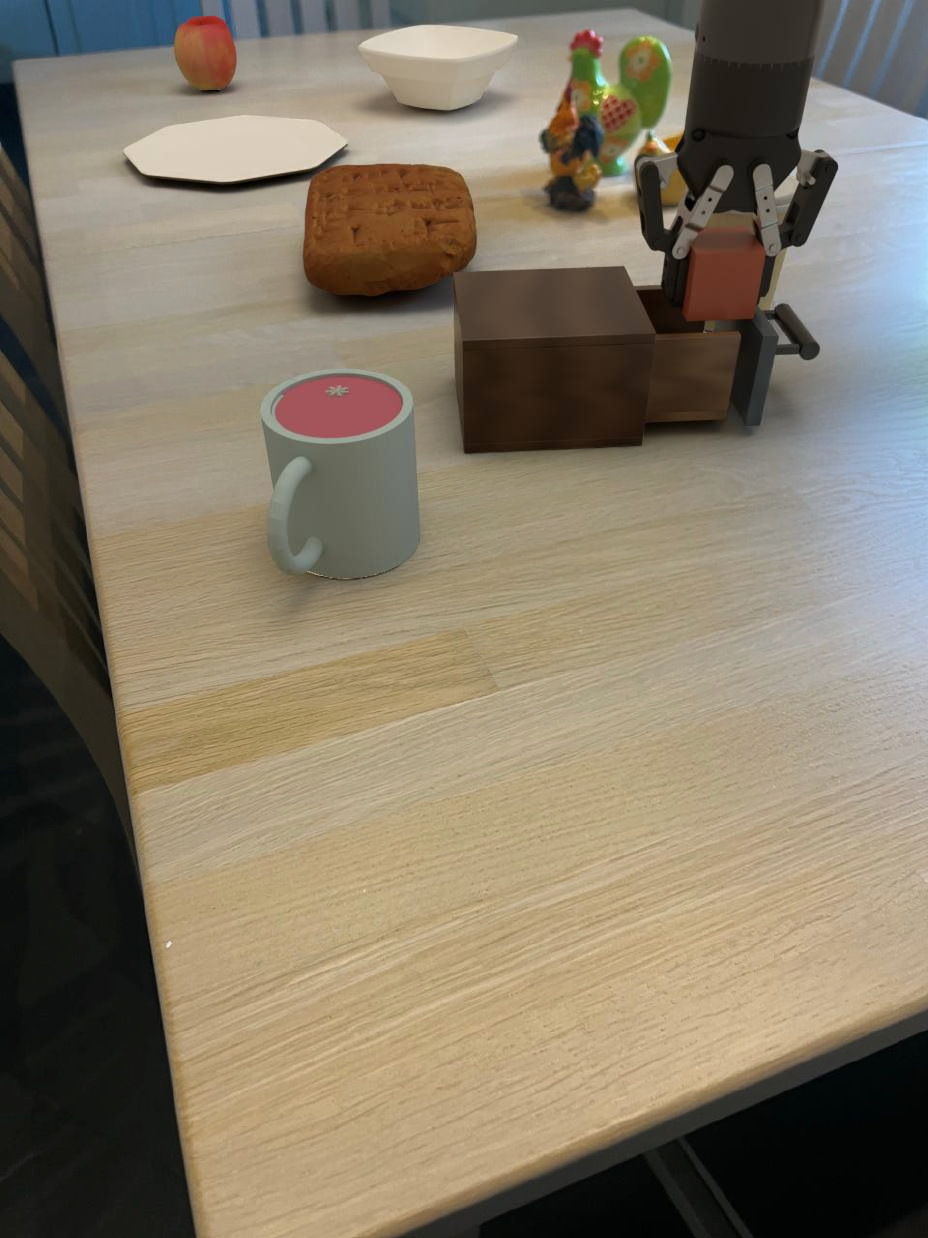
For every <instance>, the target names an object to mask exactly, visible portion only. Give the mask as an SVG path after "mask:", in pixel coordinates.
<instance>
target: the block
mask: <svg viewBox="0 0 928 1238" xmlns="http://www.w3.org/2000/svg"><path fill="white" fill-rule="evenodd" d="M687 256H688V258H689V260H690V261H689V268H688V275H687V282H686V289H685V296H684V303H683V306H682V307H679V308H680V310H681V312H682V314H683V315H684V317H685V319H686V321H711V320H735V319H753V318H754V314H755V309H756V303H757V298H758V293H759V288H760V282H761V277H762V272H763V267H764V262H765V256H766V250H765V249H764V248H763V246H762V245H761V244H760V243H759V241H758V240H757V239H756V237H755V236H754V235H753V234H752V232H751V231H750V230H749V229H748V227H747V226H734V227H707V228H704V229H703V230H702V231H700V232H699V234H698V235H697V237H696V239H695V241H694V243H693V245H692V247H691V249H690V251H689V253H688V255H687Z"/></svg>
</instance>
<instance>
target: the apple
mask: <svg viewBox="0 0 928 1238" xmlns="http://www.w3.org/2000/svg"><path fill="white" fill-rule="evenodd" d="M173 52H174V53H173V54H174V59H175V62H176V64H177V67H178V69H179V71H180V73H181V74H182V76H183V77H184V78H185V80H186V81H187V82H188V83H189V84H190V85H191V86H192V87H193V88H196V89H197V90H199V89H201V90H200V91H203V90H218V89H222V90H224V89H225V88H226V87H228V86H229V84H230V83H231V82H232V80H233V78H234V76H235V73H236V69H237V64H238V63H237V57H238V56H237V50H236V44H235V41H234V38H233V35H232V33H231V31H230V28H229V26H228V24H227V23H226V21H225V20H224V19H223V18H221V17H219V16H216V15H204V16H202V15H201V16H193V17H190V18H189V19H188V20H186V22H184V23H181V24H180V25H179V26H178V27H177V29H176V32H175V35H174V41H173Z"/></svg>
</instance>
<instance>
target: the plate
mask: <svg viewBox="0 0 928 1238" xmlns="http://www.w3.org/2000/svg"><path fill="white" fill-rule="evenodd" d="M347 146H349V140H348V139H347V138H345V137H344V136H343V135H341V134H339V133H337V132H336V131H335V130H333V129H331V128H330V127H328V126H327V125H325V124H324V123H322V121H321V122H320V121H319V120H315V119H305V118H293V117H280V116H279V117H278V116H268V115H267V116H266V115H253V114H241V115H233V116H226V117H225V116H224V117H219V118H213V119H212V118H211V119H205V120H198V121H192V122H184V123H177V124H171V125H167V126H164V127H162V128H160V129H158V130H156V131H153V132H152V133H150V134H148V135H147V136H144V137H143V138H141V139H138V140H137V141H135V142H133V143H131V144H129V145H128V146H126V147H124V149H123V150H122V154H123V155H124V157H125V158H126V159H127V160H128V161H129V163H131V164H132V165H133V166H134V167H135V169H136V170H137V172H139V173H140V174H141V176H143V177H146V178H149V179H158V180H159V179H160V180H168V181H169V180H170V181H182V182H192V183H203V184H211V185H212V184H214V185H233V184H234V185H235V184H240V183H241V184H242V183H247V182H253V181H259V180H266V179H271V178H278V177H283V176H288V175H289V176H290V175H294V174H301V173H307V172H311V171H314V170H317V169H318V168H320V167H321V166H322V165H324V164H326V163H327V162H328V161H329V160H330V159H332V158H333V157H334V156H336V155H337V154H339V153H340V152H341V151H343V150H344V149H345V148H347Z"/></svg>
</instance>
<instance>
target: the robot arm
mask: <svg viewBox="0 0 928 1238" xmlns="http://www.w3.org/2000/svg"><path fill="white" fill-rule="evenodd" d="M825 6H826V0H700V6H699V13H698V19H697V22H696V24H695V30H694V42H695V44H694V52H693V60H692V66H691V73H690V80H689V81H690V83H689V90H688V91H689V92H688V96H687V105H686V112H685V121H684V129H683V133H682V135H681V138H680V139H679V141H678V143H677V144H676V146H675V148H674V151H671V152H668V153H664V154H658V155H656V156H652V157H651V156H650V155H649V154H648V153H641V154H638V155H637V156H636V157H635V159H634V163H633V166H634V175H635V185H636V186H635V187H636V194H637V204H638V212H639V222H640V231H641V236H642V237H643V239H644V241H645V242H646V244H647V246H648V248H649V249H650V250H651V251H653V252H662V253H664V257H663V265H662V273H661V280H660V285H661V289H662V292H663V294H664V296H665V298H666V300H668V301H669V303H670V304H671V306H672V308H676V307H682V306H683V303H684V296H685V289H686V282H687V275H688V268H689V261H690V260H689V258H688V256H687V255H688V253H689V251H690V249H691V247H692V245H693V243H694V241H695V239H696V237H697V235H698V234H699V232H700V231H702V230H703V229H704V228H705V226H706V224H707V222H708V220H709V218H710V216H711V215H712V213H723V212H727V211H730V210H735V211H739V212H743V213H746V212H749V215H750V217H751V221H752V226H753V232H754V236H755V237H756V239H757V240H758V241H759V243H760V244H761V245H762V246H763V248H764V249H765V250H766V256H765V262H764V267H763V272H762V277H761V282H760V288H759V293H758V298H757V303H756V305H758V304H759V302H760V297H765V296H766V295H767V293H768V291H769V288H770V282H771V279H772V274H773V269H774V264H775V259H776V256H777V254H778V253H779V252H780V251H781V250H783V249H785V248H787V249H788V248H790V247H794V248H799V247H803V246H805V244H806V243H807V241H808V239H809V237H810V235H811V232H812V230H813V228H814V225H815V223H816V221H817V219H818V217H819V214H820V212H821V211H822V208H823V205H824V203H825V200H826V198H827V197H828V196H827V195H828V194H829V191H830V190H831V187H832V184H833V182H834V180H835V177H836V175H837V173H838V171H839V164H838V161H837V160H836V159H834V158H833V156H832V155H830V154H829V153H828V152H826V151H825V150H824V149H821V148H819V149H815V150H814V151H811V150H806V149H802V147H801V144H800V139H799V132H800V129H801V126H802V123H803V116H804V111H805V107H806V102H807V98H808V94H809V88H810V83H811V77H812V73H813V67H814V62H815V57H816V54H817V49H818V44H819V43H818V42H819V38H820V34H821V28H822V24H823V19H824V12H825V8H826V7H825ZM795 169H796V173H795V178H796V179H797V181H798V182H799V184H798V186H797V188H796V191H795V193H794V196H793V198H792V200H791V203H790V205H789V208H788V210H787V212H786V215H785V217H784V220H783V222H782V224H780V225H778V221H779V219H778V213H777V207H776V202H775V196H774V192H775V191H776V190H777V188H778V187H779V186H780V185H781V184H782V183H783V181H784V180H785V179H786V178H787V177H788V176H789V175H791V174H792V172H793V171H794V170H795ZM676 171H678V173H679V174H680V176H681V178H682V180H683V181H684V183H685V185H686V189H685V191H684V193H683V195H682V197H681V199H680V201H679V203H678V205H677V208H676V215H675V217H674V219H673V221H672V223H671V224H670V227H669V228H665V223H664V212H663V211H664V210H663V201H662V192H663V191H665V190H667V188H668V187H669V185H670V181H671V176H672V174H673V173H674V172H676ZM692 197H693V198H692Z"/></svg>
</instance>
